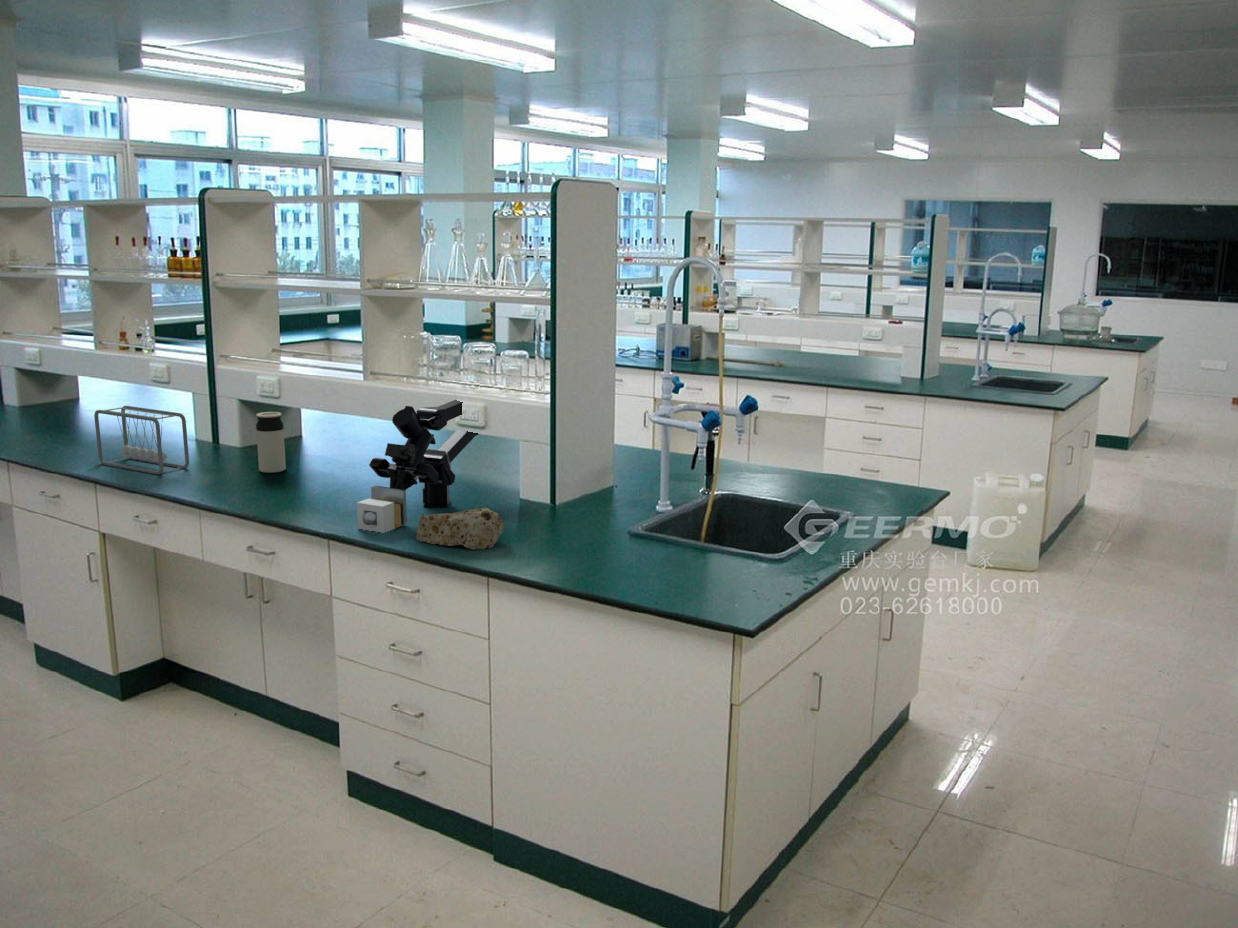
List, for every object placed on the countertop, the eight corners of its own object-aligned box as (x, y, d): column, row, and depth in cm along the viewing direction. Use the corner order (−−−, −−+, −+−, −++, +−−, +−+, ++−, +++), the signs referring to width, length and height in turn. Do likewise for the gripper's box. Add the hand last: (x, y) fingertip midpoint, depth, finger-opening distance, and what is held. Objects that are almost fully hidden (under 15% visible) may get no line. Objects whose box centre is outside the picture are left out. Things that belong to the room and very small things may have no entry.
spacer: (372, 521, 258) (371, 500, 257) (401, 526, 254) (400, 504, 253) (367, 523, 256) (366, 502, 255) (396, 528, 253) (395, 506, 251)
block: (369, 524, 256) (368, 498, 255) (394, 528, 253) (393, 502, 251) (358, 529, 252) (356, 502, 251) (383, 533, 249) (382, 506, 247)
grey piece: (375, 518, 260) (374, 485, 258) (406, 523, 256) (405, 489, 254) (351, 528, 251) (350, 493, 249) (383, 533, 247) (382, 498, 245)
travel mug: (291, 469, 314) (288, 413, 310) (270, 474, 307) (266, 417, 303) (274, 466, 318) (271, 410, 314) (253, 471, 312) (249, 414, 308)
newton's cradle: (190, 469, 313) (186, 413, 309) (161, 476, 304) (156, 418, 300) (127, 458, 326) (122, 404, 322) (98, 464, 317) (92, 409, 313)
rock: (408, 547, 241) (409, 506, 242) (443, 545, 255) (443, 506, 255) (481, 550, 233) (482, 507, 233) (512, 548, 246) (513, 507, 247)
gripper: (372, 427, 261) (346, 477, 254) (431, 434, 254) (406, 485, 247) (391, 451, 270) (367, 500, 263) (449, 458, 263) (426, 508, 255)
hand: (390, 498), depth 257 cm, fingers closed, pressing on grey piece
